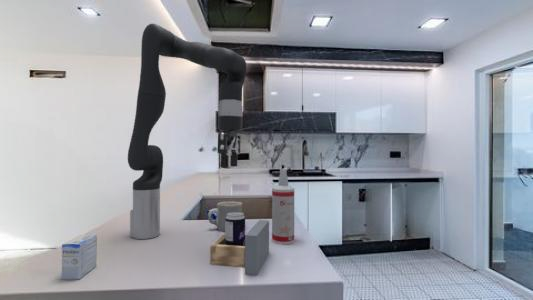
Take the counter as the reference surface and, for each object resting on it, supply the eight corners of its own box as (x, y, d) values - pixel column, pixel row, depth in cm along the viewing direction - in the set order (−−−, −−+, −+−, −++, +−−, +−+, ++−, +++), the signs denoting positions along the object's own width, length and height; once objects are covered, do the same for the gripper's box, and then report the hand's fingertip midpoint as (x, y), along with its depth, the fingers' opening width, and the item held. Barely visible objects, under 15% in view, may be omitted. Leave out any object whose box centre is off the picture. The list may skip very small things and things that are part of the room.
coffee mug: (241, 225, 120) (241, 201, 120) (242, 231, 110) (242, 205, 110) (209, 226, 118) (209, 201, 118) (207, 232, 108) (207, 206, 108)
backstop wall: (245, 275, 71) (245, 235, 71) (259, 252, 87) (259, 220, 87) (256, 276, 71) (256, 235, 71) (269, 253, 86) (269, 220, 86)
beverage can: (241, 259, 79) (241, 216, 79) (222, 257, 80) (222, 215, 80) (247, 252, 84) (247, 211, 84) (229, 251, 86) (229, 211, 86)
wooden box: (210, 264, 78) (210, 245, 78) (224, 250, 88) (224, 234, 89) (249, 267, 76) (249, 248, 76) (258, 252, 86) (258, 236, 86)
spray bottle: (282, 236, 104) (282, 167, 104) (298, 240, 99) (298, 168, 99) (267, 241, 98) (267, 168, 98) (283, 246, 93) (283, 169, 93)
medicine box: (79, 267, 76) (79, 234, 76) (97, 266, 77) (97, 234, 77) (61, 280, 68) (61, 244, 68) (80, 279, 69) (80, 243, 69)
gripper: (234, 112, 82) (233, 169, 82) (248, 118, 96) (247, 166, 96) (210, 113, 84) (209, 168, 84) (227, 118, 98) (226, 165, 98)
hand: (229, 167), depth 90 cm, fingers open, 8 cm apart
